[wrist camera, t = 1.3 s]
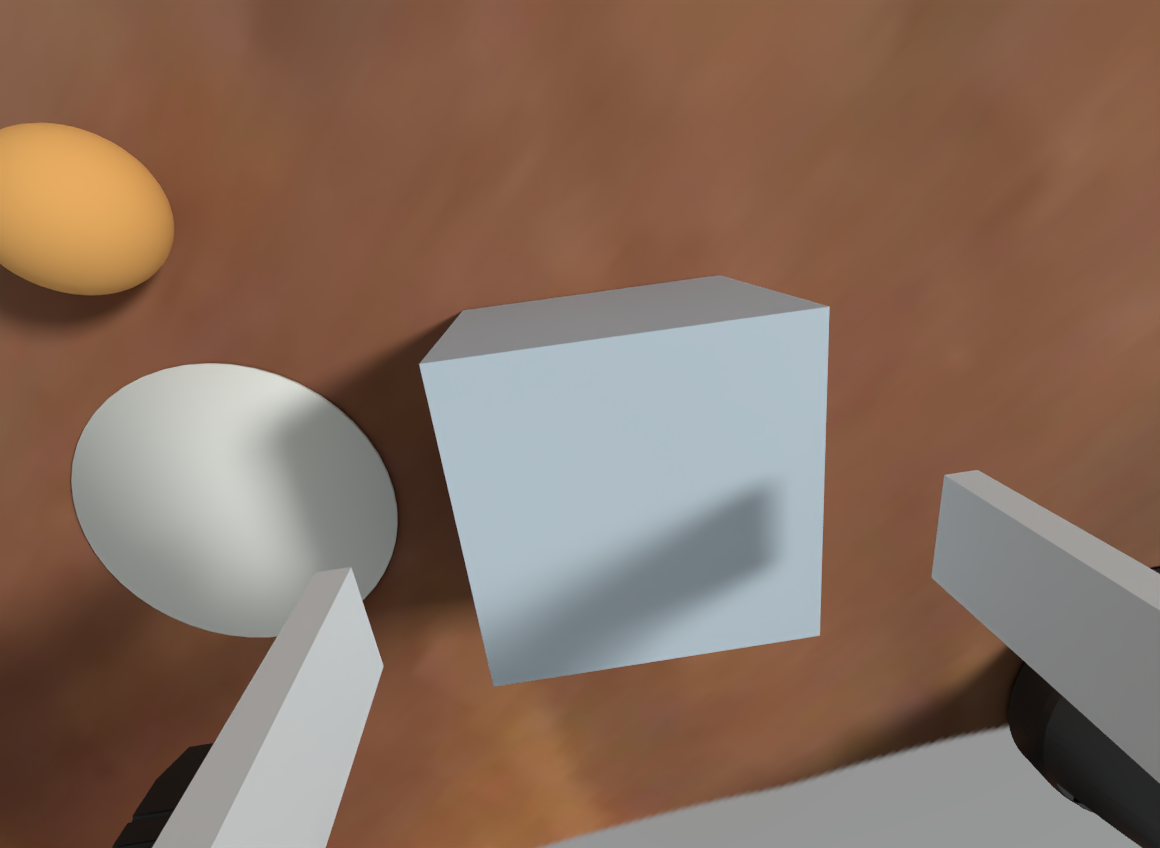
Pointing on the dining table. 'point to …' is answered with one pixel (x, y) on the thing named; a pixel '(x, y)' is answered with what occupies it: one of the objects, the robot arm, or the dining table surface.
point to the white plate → (230, 495)
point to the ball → (79, 211)
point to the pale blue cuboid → (635, 472)
